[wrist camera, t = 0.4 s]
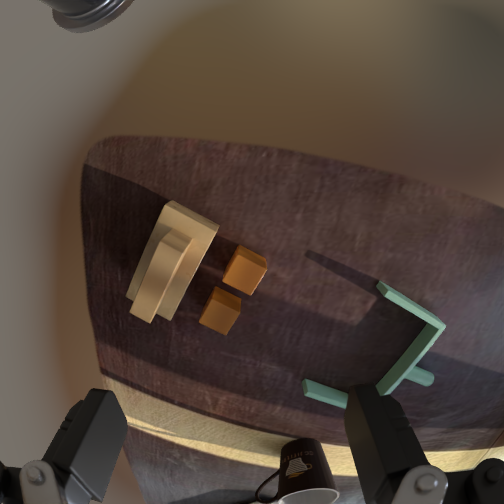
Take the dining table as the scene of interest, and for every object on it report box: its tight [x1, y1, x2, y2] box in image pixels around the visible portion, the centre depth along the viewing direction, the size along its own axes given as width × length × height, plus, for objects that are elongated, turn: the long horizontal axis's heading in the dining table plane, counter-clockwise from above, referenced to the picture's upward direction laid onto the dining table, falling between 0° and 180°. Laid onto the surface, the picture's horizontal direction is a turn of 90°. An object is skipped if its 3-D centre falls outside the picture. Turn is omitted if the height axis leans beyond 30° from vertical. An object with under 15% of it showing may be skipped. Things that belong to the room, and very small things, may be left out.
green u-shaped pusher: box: [302, 281, 446, 409], centre depth 33 cm, size 17×16×2 cm
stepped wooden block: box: [126, 200, 219, 323], centre depth 26 cm, size 10×5×8 cm, turn 151°
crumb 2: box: [222, 245, 267, 296], centre depth 29 cm, size 3×3×3 cm
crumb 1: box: [199, 286, 241, 335], centre depth 30 cm, size 3×3×3 cm
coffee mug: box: [255, 438, 339, 504], centre depth 35 cm, size 12×9×10 cm
